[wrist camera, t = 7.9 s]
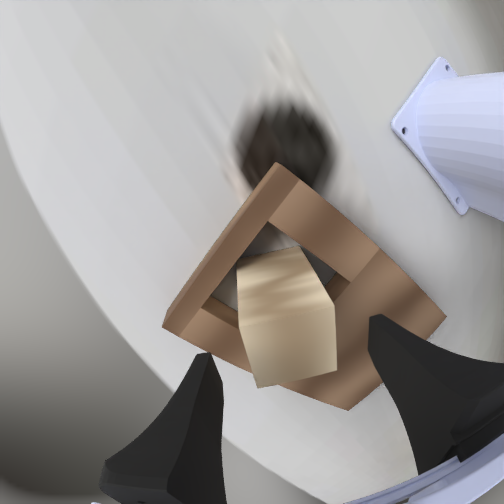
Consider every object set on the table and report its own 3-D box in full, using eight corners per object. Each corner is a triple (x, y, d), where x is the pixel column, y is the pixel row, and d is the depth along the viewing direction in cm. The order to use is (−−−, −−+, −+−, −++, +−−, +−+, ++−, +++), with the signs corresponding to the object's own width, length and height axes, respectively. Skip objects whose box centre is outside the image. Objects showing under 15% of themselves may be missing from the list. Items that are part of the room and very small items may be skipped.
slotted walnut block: (434, 304, 21) (447, 316, 19) (342, 395, 24) (348, 410, 22) (275, 161, 16) (280, 164, 14) (167, 310, 19) (161, 327, 17)
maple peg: (299, 245, 18) (334, 305, 11) (306, 299, 19) (336, 370, 13) (236, 259, 18) (238, 327, 11) (249, 311, 19) (257, 388, 13)
